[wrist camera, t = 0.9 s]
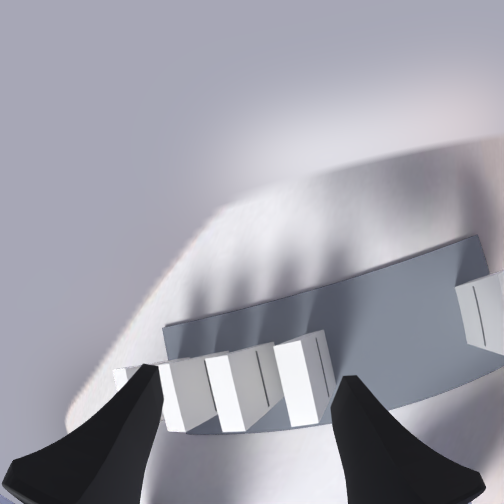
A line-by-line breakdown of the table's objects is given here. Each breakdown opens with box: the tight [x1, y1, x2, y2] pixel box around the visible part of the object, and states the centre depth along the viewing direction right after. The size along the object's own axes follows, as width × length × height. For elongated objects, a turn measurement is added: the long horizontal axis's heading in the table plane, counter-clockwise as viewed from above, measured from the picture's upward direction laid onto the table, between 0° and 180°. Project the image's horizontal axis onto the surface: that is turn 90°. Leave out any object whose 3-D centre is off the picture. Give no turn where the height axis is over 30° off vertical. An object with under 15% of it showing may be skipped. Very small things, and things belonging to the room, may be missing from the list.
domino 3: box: [273, 330, 336, 427], centre depth 19 cm, size 2×5×9 cm, turn 13°
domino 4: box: [455, 270, 504, 355], centre depth 15 cm, size 2×5×9 cm, turn 13°
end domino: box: [112, 357, 190, 421], centre depth 23 cm, size 2×5×9 cm, turn 13°
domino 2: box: [205, 342, 284, 432], centre depth 20 cm, size 2×5×9 cm, turn 13°
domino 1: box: [155, 351, 229, 432], centre depth 22 cm, size 2×5×9 cm, turn 13°
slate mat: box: [162, 235, 504, 434], centre depth 23 cm, size 32×12×1 cm, turn 103°
